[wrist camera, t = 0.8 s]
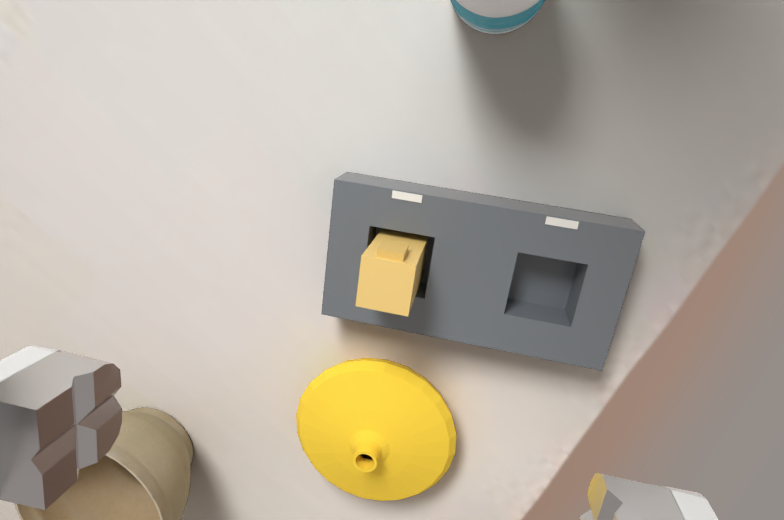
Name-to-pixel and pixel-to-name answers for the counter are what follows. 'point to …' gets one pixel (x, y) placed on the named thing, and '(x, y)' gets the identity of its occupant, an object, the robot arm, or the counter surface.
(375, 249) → the plug
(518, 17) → the pill bottle
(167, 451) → the planter bowl
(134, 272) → the counter surface
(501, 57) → the counter surface
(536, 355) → the jack panel
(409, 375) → the yellow round knobbed piece
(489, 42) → the counter surface
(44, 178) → the counter surface
